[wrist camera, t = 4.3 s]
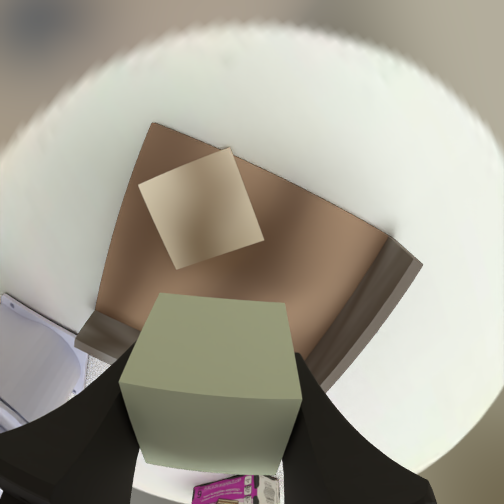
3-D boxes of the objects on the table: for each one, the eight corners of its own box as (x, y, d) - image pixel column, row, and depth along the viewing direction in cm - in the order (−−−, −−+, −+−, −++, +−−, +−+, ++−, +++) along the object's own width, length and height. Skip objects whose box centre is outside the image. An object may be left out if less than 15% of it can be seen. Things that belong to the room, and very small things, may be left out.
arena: (96, 313, 20) (73, 346, 16) (157, 116, 15) (132, 113, 12) (289, 386, 23) (294, 425, 19) (396, 233, 18) (427, 258, 14)
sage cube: (167, 378, 12) (146, 463, 8) (159, 292, 11) (118, 381, 7) (269, 387, 13) (275, 475, 8) (284, 302, 11) (302, 399, 7)
